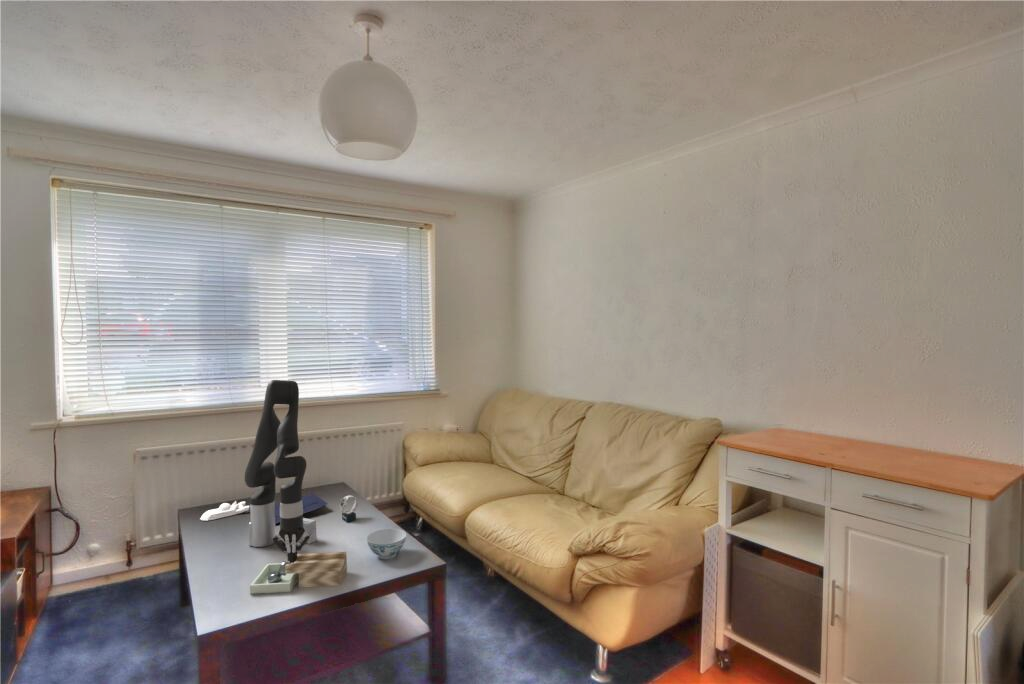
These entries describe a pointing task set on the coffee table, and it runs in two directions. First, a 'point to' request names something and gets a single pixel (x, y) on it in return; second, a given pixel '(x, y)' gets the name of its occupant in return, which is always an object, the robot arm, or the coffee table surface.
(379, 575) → the coffee table surface
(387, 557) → the chinaware
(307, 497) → the blue flat panel
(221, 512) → the plane toy
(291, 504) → the robot arm
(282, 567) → the puck
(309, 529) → the medicine box
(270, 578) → the puck
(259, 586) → the tray
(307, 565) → the slotted board
